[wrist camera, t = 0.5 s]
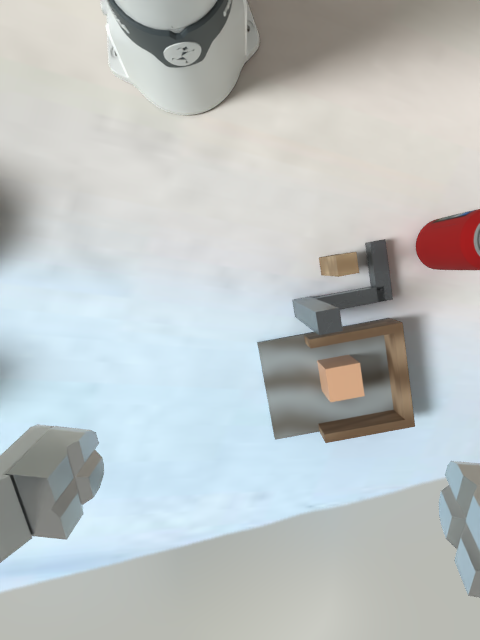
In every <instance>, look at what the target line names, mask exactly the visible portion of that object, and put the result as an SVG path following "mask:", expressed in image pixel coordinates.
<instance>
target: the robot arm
mask: <svg viewBox="0 0 480 640" xmlns="http://www.w3.org/2000/svg"><path fill="white" fill-rule="evenodd" d="M101 8H102V12H103V14H104V15H107V24H106V30H107V38H108V63H109V67H110V69H111V71H112V73H113V74H114V75H115V76H116V77H118V78H120V79H122V80H124V81H126V82H128V83H130V84H132V85H134V86H135V87H136V88H137V89H138V90H139V91H140V92H141V93H142V94H143V95H144V96H145V97H146V98H147V99H148V100H149V101H150V102H151V103H153V104H154V105H155V106H157V107H159V108H160V109H162V110H165V111H167V112H170V113H174V114H179V115H193V114H199V113H202V112H205V111H208V110H210V109H212V108H214V107H215V106H217V105H218V104H219V103H221V102H222V101H223V100H224V99H225V98H226V97H227V96H228V95H229V93H230V92H231V91H232V89H233V88H234V86H235V84H236V82H237V80H238V77H239V75H240V72H241V70H242V67H243V65H244V64H245V63H246V62H247V61H248V60H249V59H250V57H251V56H252V55H253V54H254V53H255V52H256V51H257V49H258V47H259V44H260V40H259V33H258V30H257V27H256V24H255V21H254V19H253V16H252V13H251V10H250V7H249V4H248V1H247V0H101ZM247 29H249V32H247ZM116 54H117V56H118V57H117V56H116ZM98 444H99V442H98V438H97V435H96V432H94V431H92V430H85V429H76V428H67V427H59V426H55V427H54V426H46V425H35V426H32V427H30V428H29V429H28V430H27V431H26V432H25V433H24V434H23V435H22V436H21V437H20V438H19V439H18V440H17V441H15V442H14V443H13V444H12V445H11V446H10V447H9V448H8V449H7V450H6V451H5V452H4V453H3V454H2V455H1V456H0V563H1V562H2V561H3V560H4V559H6V558H7V557H8V556H10V555H11V554H12V553H13V552H15V551H16V550H17V549H19V548H20V547H21V546H22V545H24V544H25V543H26V542H28V541H29V540H30V539H32V536H38V537H48V538H57V539H67V538H68V537H69V535H70V534H71V532H72V530H73V529H74V527H75V526H76V524H77V523H78V521H79V520H80V518H81V516H82V515H83V504H84V503H86V502H87V501H89V500H90V499H92V498H93V497H94V496H95V494H96V493H97V491H98V489H99V488H100V485H101V481H102V478H103V475H104V464H103V459H102V457H101V456H100V455H99V454H98V453H97V452H96V450H95V449H96V447H97V446H98ZM445 476H446V478H447V481H448V482H449V485H448V486H447V487H446V488H444V489H443V490H442V491H441V494H440V500H439V516H440V521H441V525H442V528H443V531H444V534H445V537H446V539H447V540H448V541H449V542H450V543H451V544H452V545H453V546H454V547H455V548H457V553H456V557H455V563H456V566H457V568H458V571H459V573H460V576H461V578H462V581H463V583H464V586H465V589H466V591H467V594H468V596H474V597H480V463H469V462H456V461H451V462H450V463H449V464H448V466H447V469H446V473H445Z"/></svg>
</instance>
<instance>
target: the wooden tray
mask: <svg viewBox="0 0 480 640" xmlns="http://www.w3.org/2000/svg"><path fill="white" fill-rule="evenodd" d="M342 330H343V331H340V332H334V333H329V334H323V335H318V334H317V333H316V332H311V333H306V334H300V335H295V336H289V337H284V338H279V339H273V340H268V341H263V342H257V343H258V349H259V354H260V360H261V365H262V371H263V376H264V382H265V387H266V393H267V398H268V404H269V409H270V415H271V420H272V426H273V432H274V437H275V440H276V439H281V438H287V437H292V436H297V435H303V434H308V433H314V432H319V431H320V433H321V435H322V437H323V439H324V441H325V443H328V442H334V441H339V440H345V439H350V438H355V437H361V436H366V435H372V434H377V433H382V432H388V431H393V430H399V429H404V428H409V427H415V423H414V414H413V406H412V398H411V389H410V381H409V373H408V364H407V356H406V348H405V340H404V331H403V323H402V322H400V321H397V320H393V319H390V318H386V319H381V320H375V321H370V322H365V323H359V324H354V325H349V326H343V327H342ZM344 355H350V356H351V357H353V358H354V359H355V360H357V361H358V362H359V363H360V367H361V374H362V381H363V388H364V395H365V396H362V397H357V398H352V399H346V400H341V401H335V402H330V401H329V400H328V398H327V397H326V396H325V394H324V393H323V392H322V388H321V382H320V376H319V369H318V363H317V360H322V359H327V358H333V357H338V356H344Z"/></svg>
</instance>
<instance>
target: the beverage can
mask: <svg viewBox="0 0 480 640" xmlns="http://www.w3.org/2000/svg"><path fill="white" fill-rule="evenodd" d="M416 251H417V255H418V257H419V259H420V260H421V262H422V263H423V264H424V265H426V266H427V267H429V268H432V269H439V270H480V209H478V210H474V211H469V212H465V213H461V214H457V215H452V216H448V217H444V218H440V219H437V220H434V221H431V222H429V223H428V224H427V225H425V226H424V227H423V228H422V230H421V231H420V233H419V235H418V237H417V241H416Z"/></svg>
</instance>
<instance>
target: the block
mask: <svg viewBox="0 0 480 640" xmlns="http://www.w3.org/2000/svg"><path fill="white" fill-rule="evenodd" d="M317 363H318V369H319V376H320V382H321V388H322V392H323V393H324V394H325V396H326V397H327V398H328V400H329V401H330V402H335V401H341V400H346V399H352V398H357V397H362V396H365V395H364V388H363V381H362V374H361V367H360V363H359V362H358V361H357V360H355V359H354V358H353V357H351V356H350V355H344V356H338V357H333V358H327V359H322V360H317Z"/></svg>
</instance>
